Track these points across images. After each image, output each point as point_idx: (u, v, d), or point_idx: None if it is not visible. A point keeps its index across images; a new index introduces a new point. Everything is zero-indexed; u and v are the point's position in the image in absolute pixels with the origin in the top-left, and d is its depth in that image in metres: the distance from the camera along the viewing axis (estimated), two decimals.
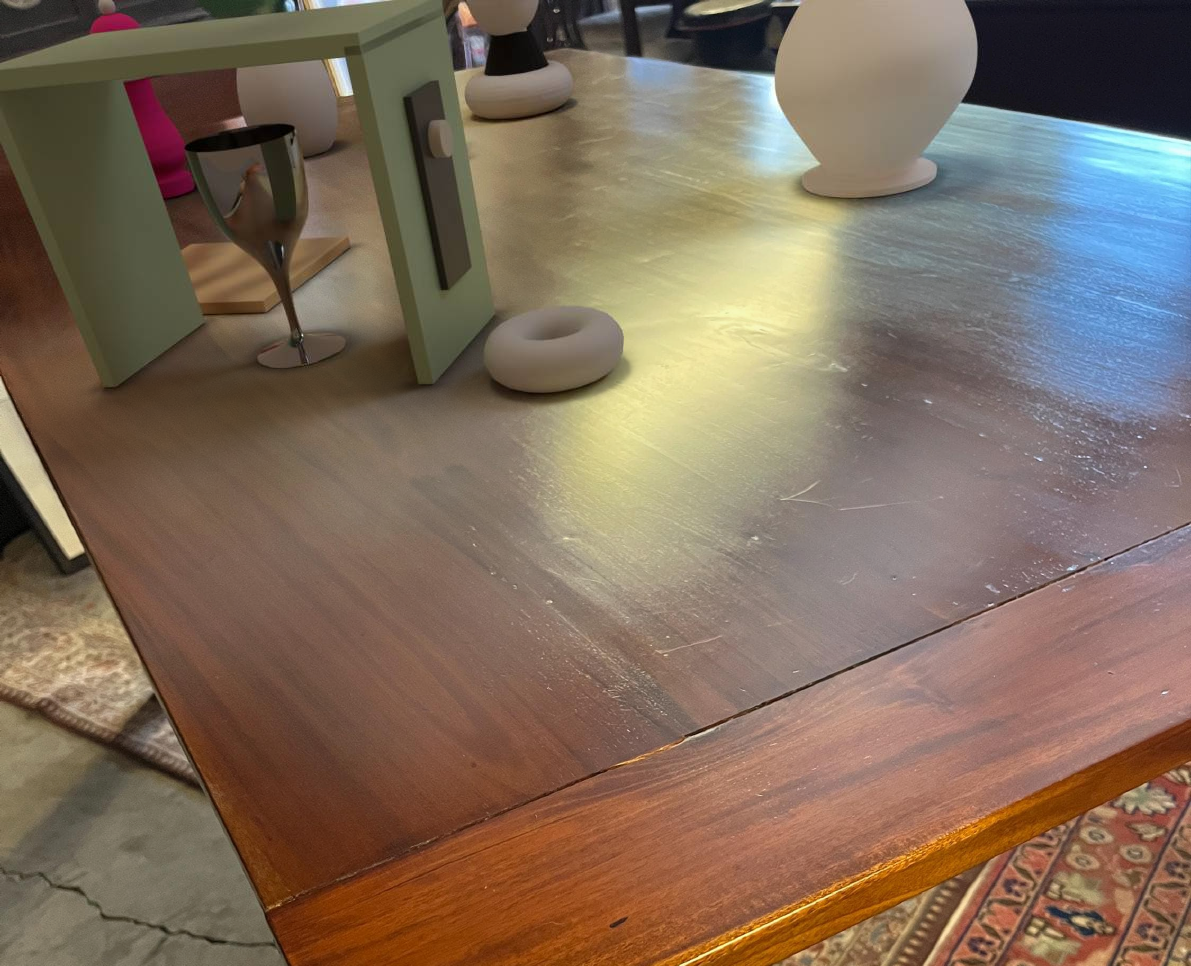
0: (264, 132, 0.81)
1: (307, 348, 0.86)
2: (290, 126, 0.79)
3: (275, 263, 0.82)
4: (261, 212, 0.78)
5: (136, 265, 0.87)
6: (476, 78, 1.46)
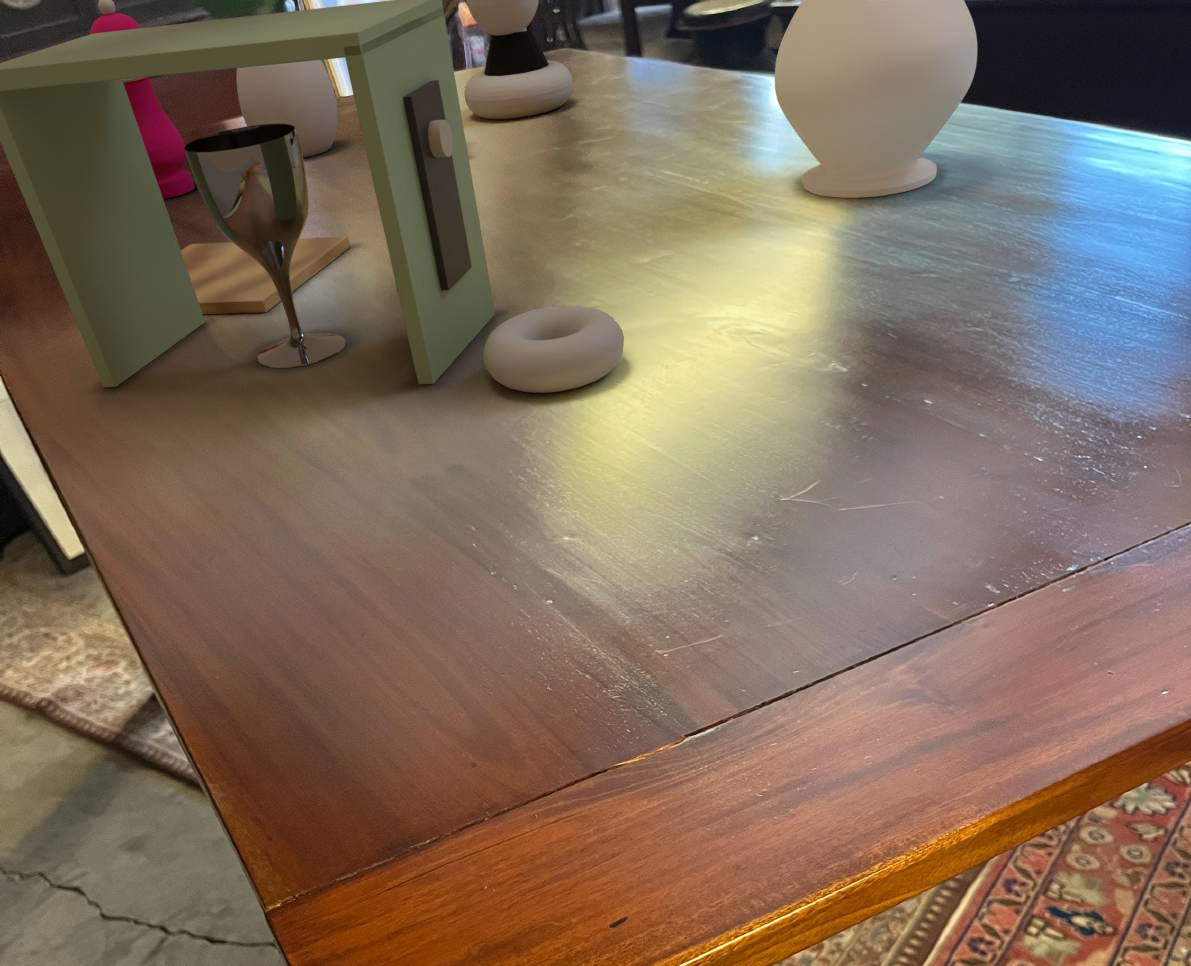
0: (264, 132, 0.81)
1: (307, 348, 0.86)
2: (290, 126, 0.79)
3: (275, 263, 0.82)
4: (261, 212, 0.78)
5: (136, 265, 0.87)
6: (476, 78, 1.46)
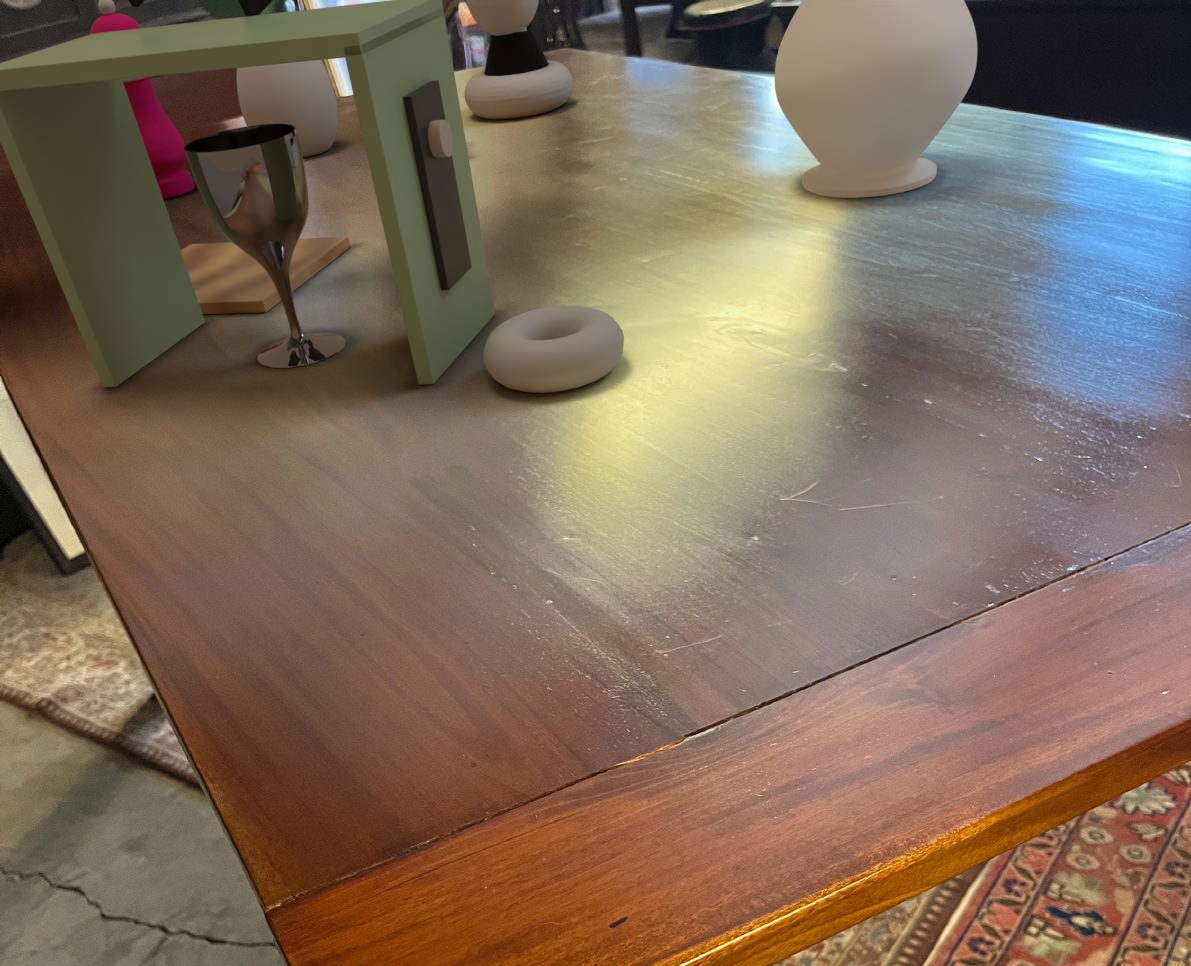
0: (264, 132, 0.81)
1: (307, 348, 0.86)
2: (290, 126, 0.79)
3: (275, 263, 0.82)
4: (261, 212, 0.78)
5: (136, 265, 0.87)
6: (476, 78, 1.46)
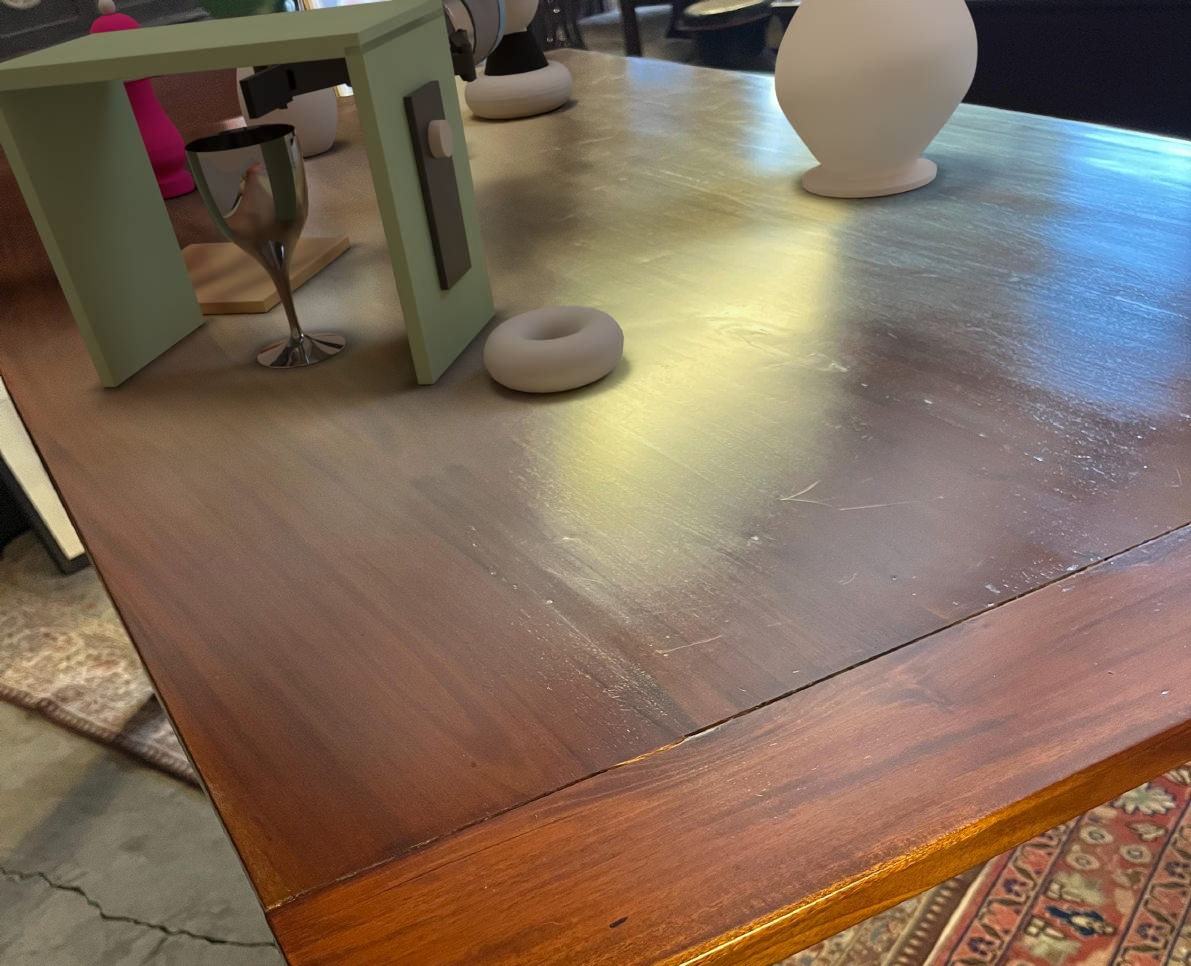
0: (264, 132, 0.81)
1: (307, 348, 0.86)
2: (290, 126, 0.79)
3: (275, 263, 0.82)
4: (261, 212, 0.78)
5: (136, 265, 0.87)
6: None
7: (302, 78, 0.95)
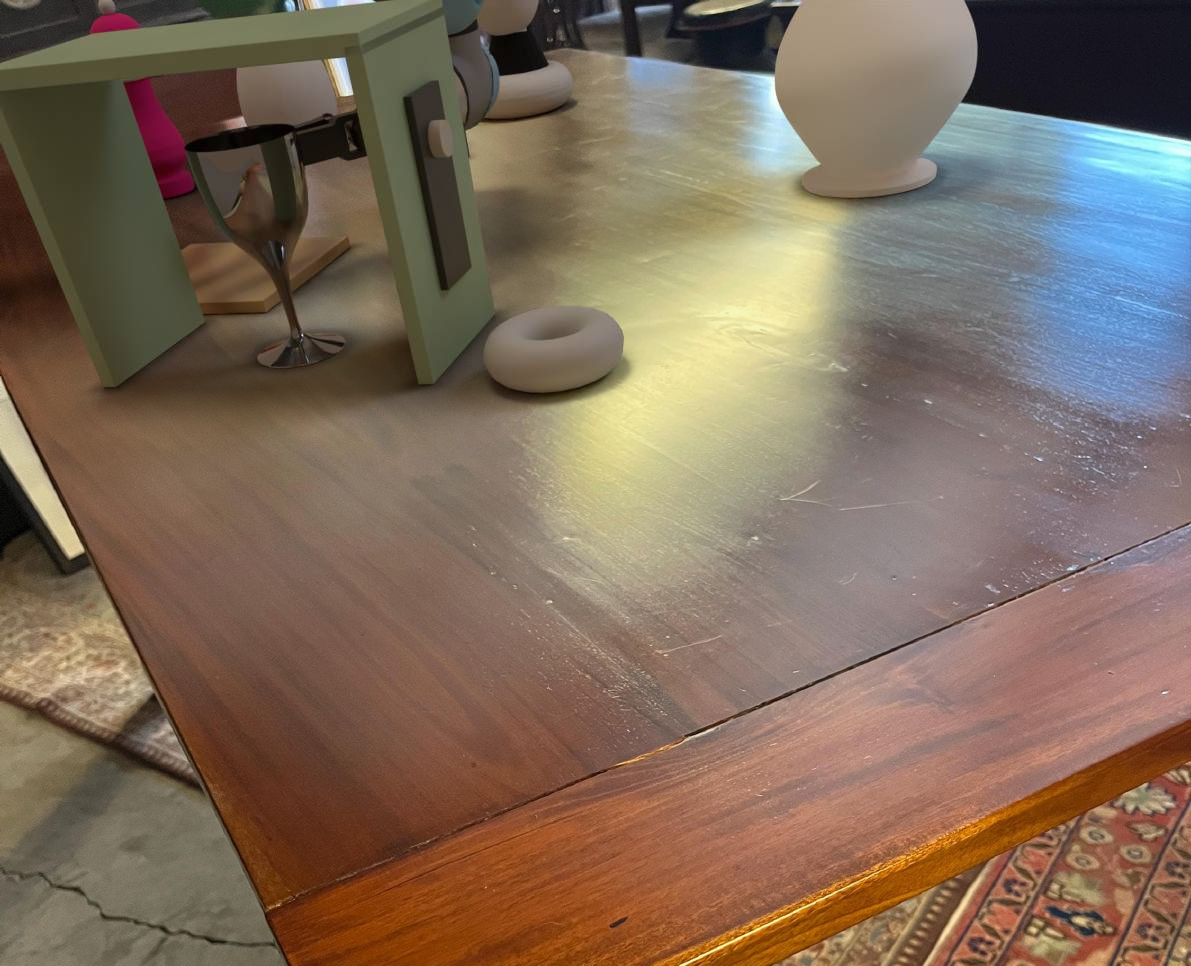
0: (264, 132, 0.81)
1: (307, 348, 0.86)
2: (290, 126, 0.79)
3: (275, 263, 0.82)
4: (261, 212, 0.78)
5: (136, 265, 0.87)
6: None
7: None
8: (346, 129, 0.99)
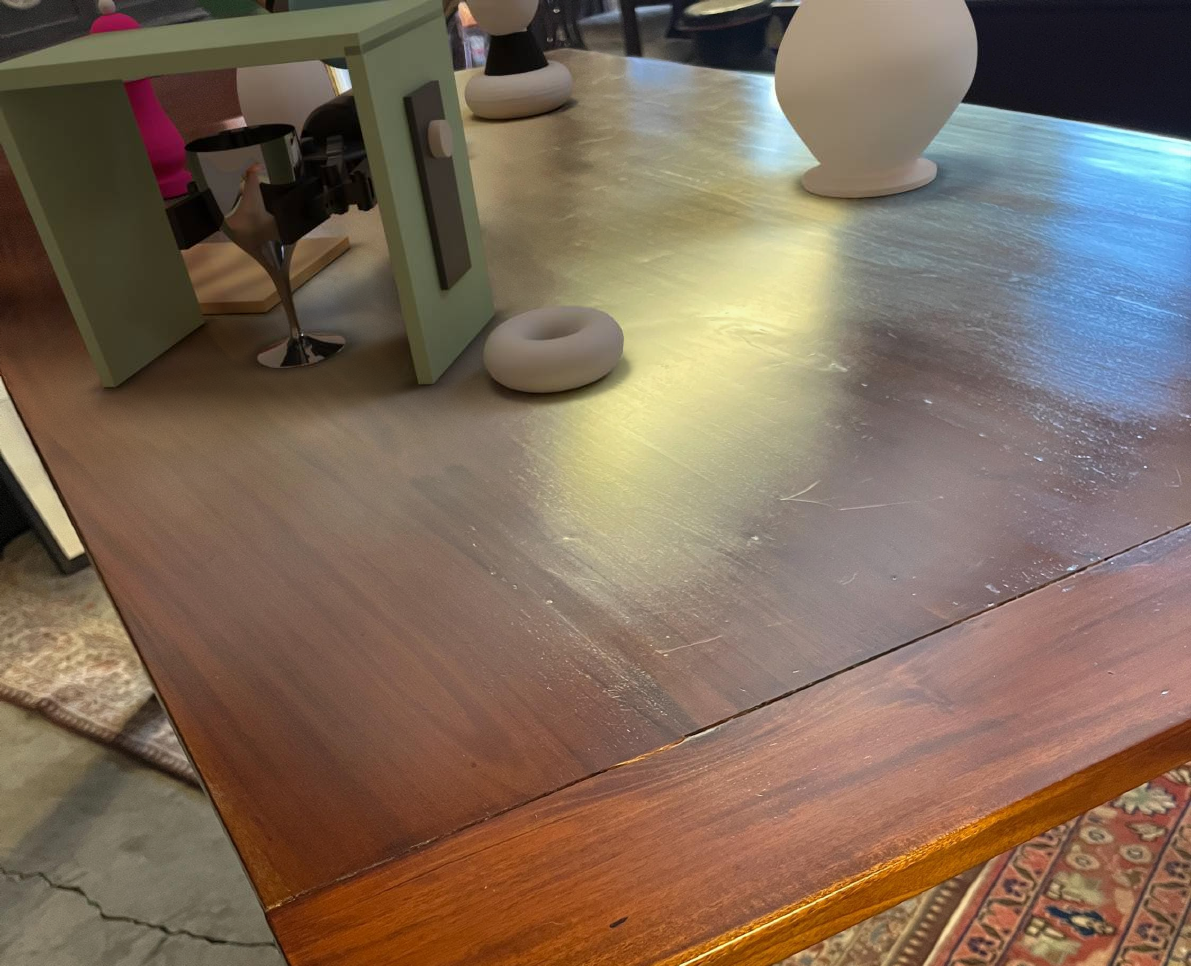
0: (265, 131, 0.81)
1: (307, 348, 0.86)
2: (290, 126, 0.79)
3: (275, 263, 0.82)
4: (261, 212, 0.78)
5: (136, 265, 0.87)
6: (476, 78, 1.46)
7: None
8: None
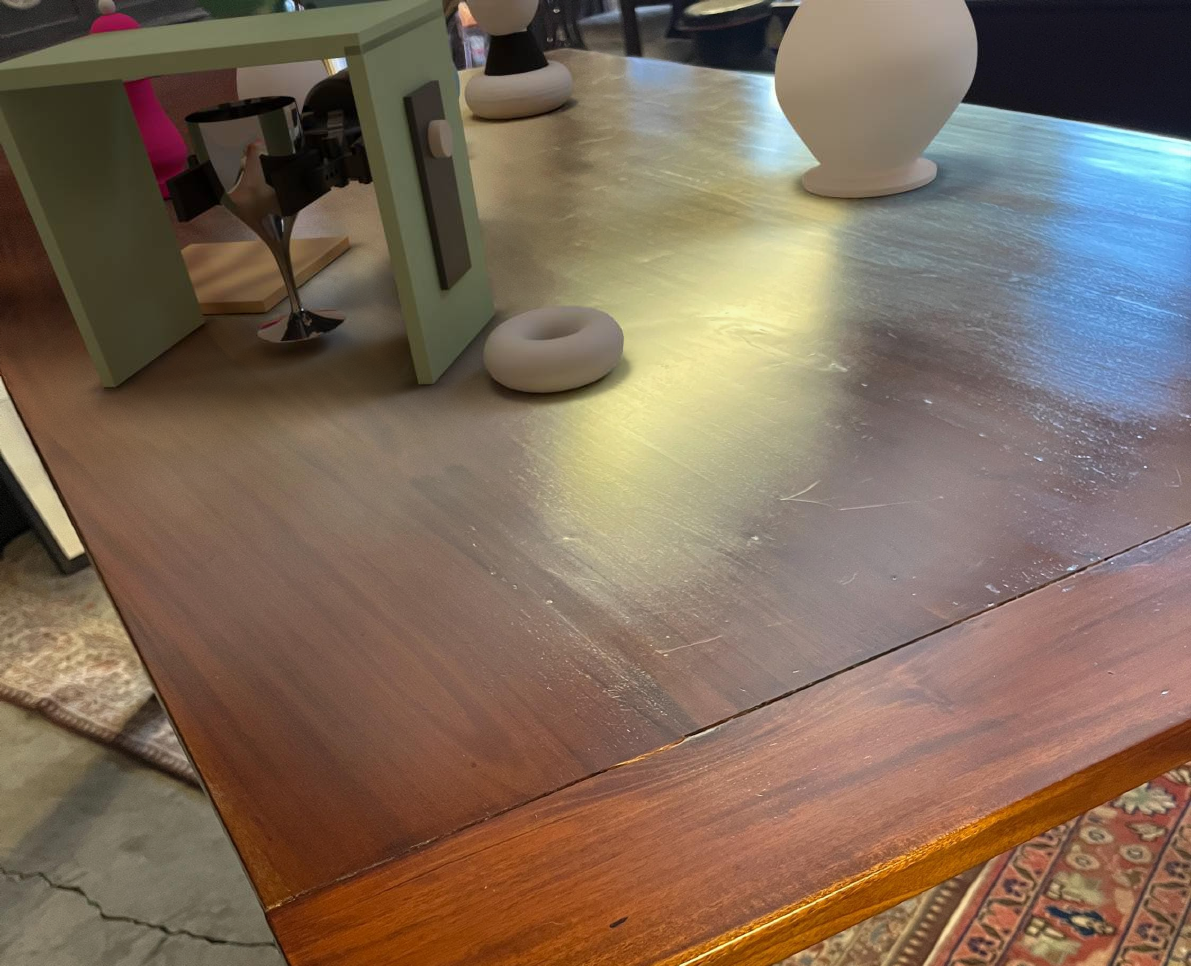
0: (265, 104, 0.81)
1: (307, 323, 0.86)
2: (290, 98, 0.79)
3: (275, 236, 0.82)
4: (261, 184, 0.78)
5: (136, 265, 0.87)
6: (476, 78, 1.46)
7: None
8: None
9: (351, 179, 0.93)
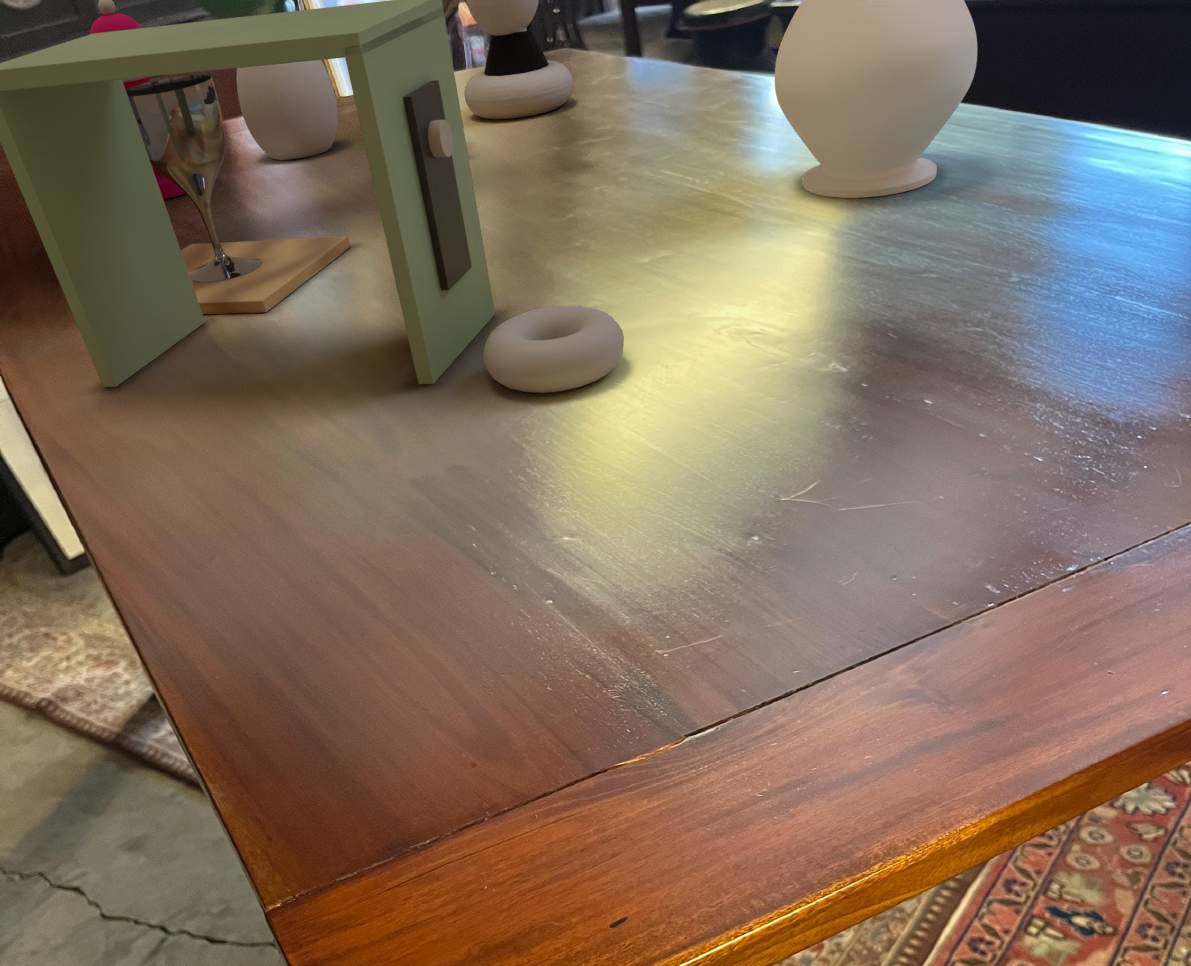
0: (188, 82, 0.97)
1: (228, 266, 1.02)
2: (208, 77, 0.96)
3: (198, 192, 0.99)
4: (183, 147, 0.94)
5: (136, 265, 0.87)
6: (476, 78, 1.46)
7: None
8: None
9: None
